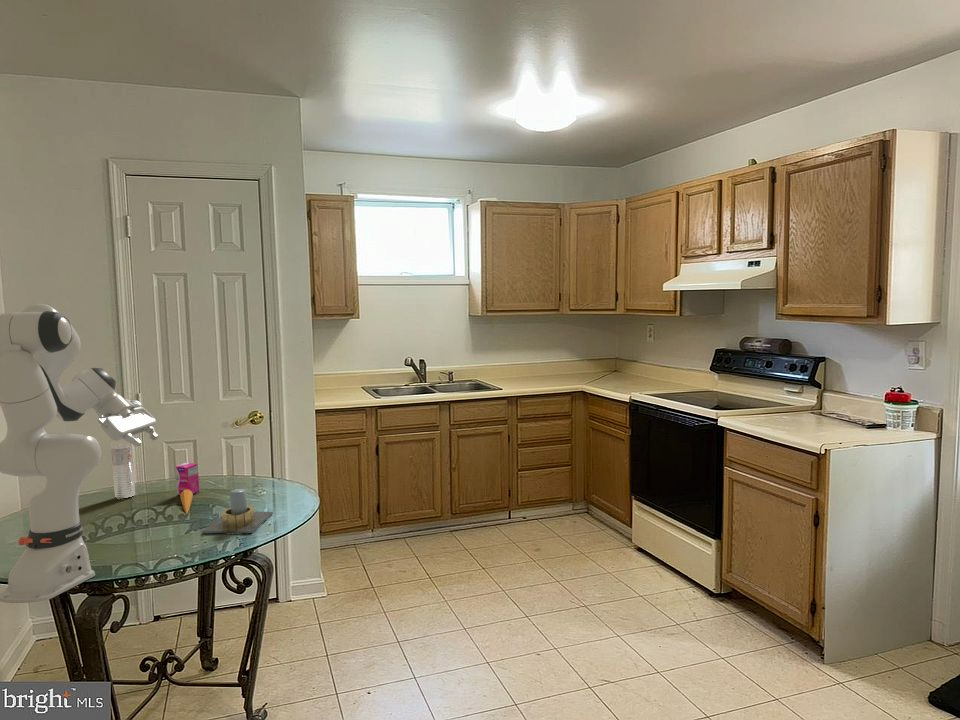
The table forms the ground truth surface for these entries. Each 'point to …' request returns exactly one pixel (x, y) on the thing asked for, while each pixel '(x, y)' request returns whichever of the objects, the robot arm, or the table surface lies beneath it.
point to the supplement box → (187, 478)
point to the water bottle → (122, 469)
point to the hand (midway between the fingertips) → (148, 441)
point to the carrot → (186, 499)
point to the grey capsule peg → (238, 501)
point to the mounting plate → (248, 528)
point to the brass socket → (238, 517)
